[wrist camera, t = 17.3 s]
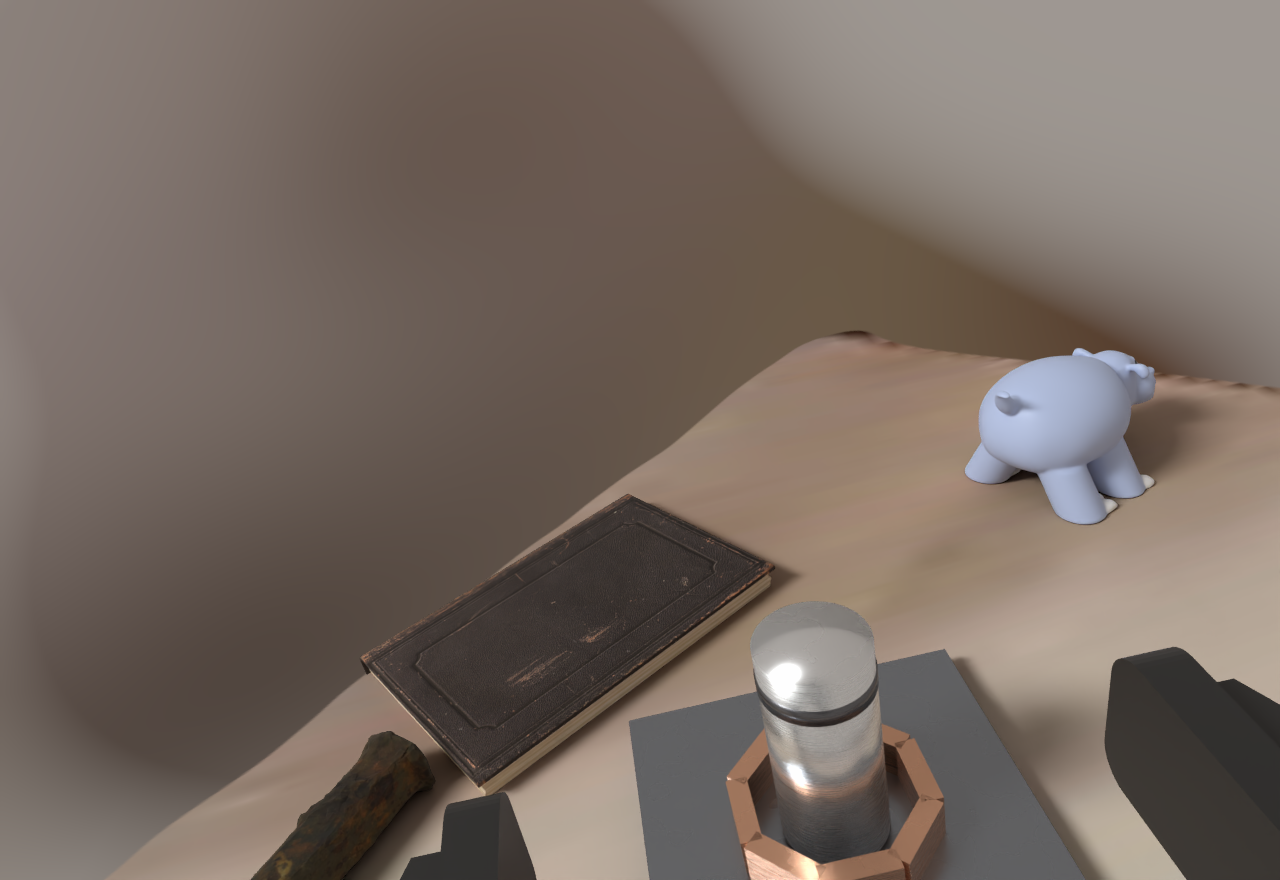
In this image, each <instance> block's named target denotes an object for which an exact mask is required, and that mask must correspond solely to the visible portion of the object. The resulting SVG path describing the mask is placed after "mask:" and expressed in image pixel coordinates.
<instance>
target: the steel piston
mask: <svg viewBox="0 0 1280 880" xmlns="http://www.w3.org/2000/svg"><path fill="white" fill-rule="evenodd" d="M750 649H751V655H752V661H753V666H754V679H755V684H756V690H757V694H758V697H759V700H760V706H761V711H762V717H763V723H764V728H765V734H766V740H767V745H768V751H769V757H770V762H771V768H772V773H773V779H774V785H775V790H776V796H777V802H778V807H779V813H780V819H781V824H782V829H783V833H784V835H785V838H786V839H787V841H788V843H789V844H790V846H791V847H792V848H793V849H794V850H795V851H796V852H798V853H800V854H802V855H804V856H806V857H808V858H810V859H811V860H813V861H815V862H817V863H819V864H825V863H830V862H834V861H839V860H843V859H847V858H852V857H856V856H861V855H865V854H869V853H874V852H878V851H879V850H880V849H881V848H882V847H883V845H884V844H885V842H886V840H887V838H888V835H889V832H890V810H889V799H888V788H887V778H886V767H885V756H884V745H883V734H882V723H881V712H880V701H879V691H878V686H879V677H878V666H877V660H876V657H875V647H874V637H873V633H872V630H871V628H870V626H869V625H868V623H867V622H866V621H865V620H864V618H862V617H861V616H860V615H859V614H857V613H856V612H854V611H853V610H851V609H849V608H847V607H844V606H841V605H838V604H834V603H829V602H819V601H810V602H801V603H796V604H792V605H788V606H785V607H783V608H780V609H778V610H776V611H774V612H773V613H771V614H769V615H768V616H767V617H766V618H764V619H763V620H762V621H761V622H760V623H759V624H758V626H757V627H756V629H755V630H754V632H753V635H752V637H751V643H750Z"/></svg>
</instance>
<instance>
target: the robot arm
mask: <svg viewBox="0 0 1280 880" xmlns="http://www.w3.org/2000/svg"><path fill="white" fill-rule="evenodd" d="M1105 750H1106V755H1107V759H1108V762H1109V765H1110V768H1111V770H1112V773H1113V775H1114V777H1115V779H1116V781H1117V783H1118V785H1119V787H1120V788H1121V790H1122V791H1123V793H1124V794H1125V795H1126V797H1127V798H1128V799H1129V801H1130V802H1131V804H1132V805H1133V806H1134V808H1135V809H1136V811H1137V812H1138V813H1139V815H1140V816H1141V817H1142V819H1143V820H1144V822H1145V823H1146V824H1147V826H1148V827H1149V828H1150V830H1151V831H1152V833H1153V834H1154V835H1155V837H1156V838H1157V839H1158V841H1159V842H1160V844H1161V845H1162V846H1163V848H1164V849H1165V851H1166V852H1167V853H1168V855H1169V856H1170V857H1171V859H1172V860H1173V862H1174V863H1175V864H1176V866H1177V867H1178V868H1179V870H1180V871H1181V873H1182V874H1183V875H1184V877H1185V878H1186V879H1187V880H1280V704H1278V703H1276V702H1274V701H1272V700H1271V699H1269V698H1267V697H1265V696H1264V695H1262V694H1260V693H1258V692H1257V691H1255V690H1253V689H1251V688H1249V687H1248V686H1246V685H1244V684H1242V683H1241V682H1239V681H1237V680H1235V679H1230V680H1225V681H1221V682H1216V681H1215V680H1214V679H1213V678H1212V677H1211V676H1210V675H1209V674H1208V673H1207V672H1206V671H1205V670H1204V668H1203V667H1202V666H1201V665H1200V664H1199V663H1198V662H1197V661H1196V660H1195V659H1194V658H1193V657H1192V656H1191V655H1190V654H1189V653H1187V652H1186V651H1184V650H1183V649H1181V648H1178V647H1171V648H1166V649H1162V650H1157V651H1152V652H1148V653H1143V654H1139V655H1134V656H1130V657H1125V658H1121V659H1118V660H1116V661H1115V662H1114V664H1113V666H1112V671H1111V681H1110V691H1109V701H1108V711H1107V721H1106V731H1105ZM400 880H536V875H535V871H534V867H533V864H532V861H531V858H530V856H529V853H528V850H527V847H526V844H525V842H524V839H523V836H522V833H521V831H520V828H519V825H518V822H517V819H516V817H515V814H514V811H513V808H512V806H511V803H510V800H509V798H508V796H507V794H506V793H505V792H502V793H497V794H492V795H488V796H483V797H479V798H474V799H470V800H465V801H461V802H456V803H452V804H448V805H447V807H446V809H445V813H444V821H443V832H442V844H441V852H436V853H432V854H427V855H423V856H418V857H414V858H411V860H410V861H409V863H408V865H407V867H406V869H405V871H404V873H403V875H402V877H401V879H400Z"/></svg>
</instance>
